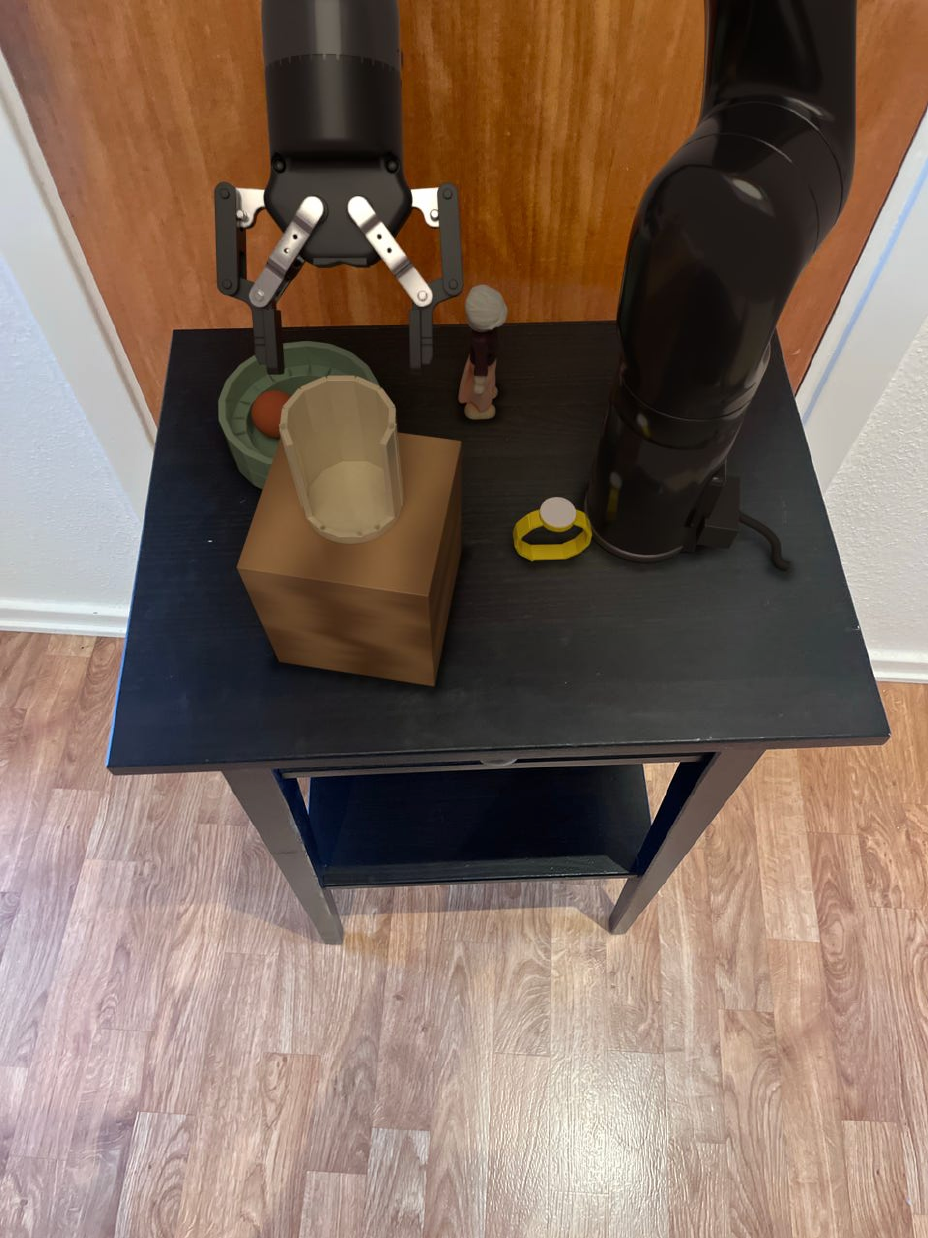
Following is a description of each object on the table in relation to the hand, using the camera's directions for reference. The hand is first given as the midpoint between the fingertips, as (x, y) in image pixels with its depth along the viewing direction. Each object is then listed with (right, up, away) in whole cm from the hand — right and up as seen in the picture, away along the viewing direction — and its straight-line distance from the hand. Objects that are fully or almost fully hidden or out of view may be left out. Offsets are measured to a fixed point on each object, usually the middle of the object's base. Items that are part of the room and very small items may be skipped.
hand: (346, 374), depth 52 cm
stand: (0, -14, +15) cm, 20 cm away
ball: (-9, +2, +21) cm, 22 cm away
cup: (0, -7, +3) cm, 8 cm away
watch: (+14, -10, +17) cm, 24 cm away
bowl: (-6, +1, +23) cm, 23 cm away
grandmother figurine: (+9, +4, +25) cm, 26 cm away
